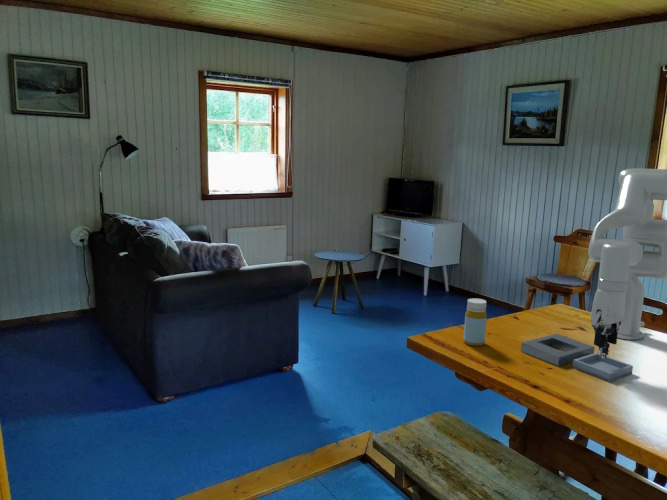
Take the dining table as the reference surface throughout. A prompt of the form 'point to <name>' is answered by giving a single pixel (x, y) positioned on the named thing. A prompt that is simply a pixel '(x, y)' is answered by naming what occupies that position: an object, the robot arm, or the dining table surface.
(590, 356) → the tray
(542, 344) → the block
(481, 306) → the bottle
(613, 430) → the dining table surface
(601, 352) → the push button
